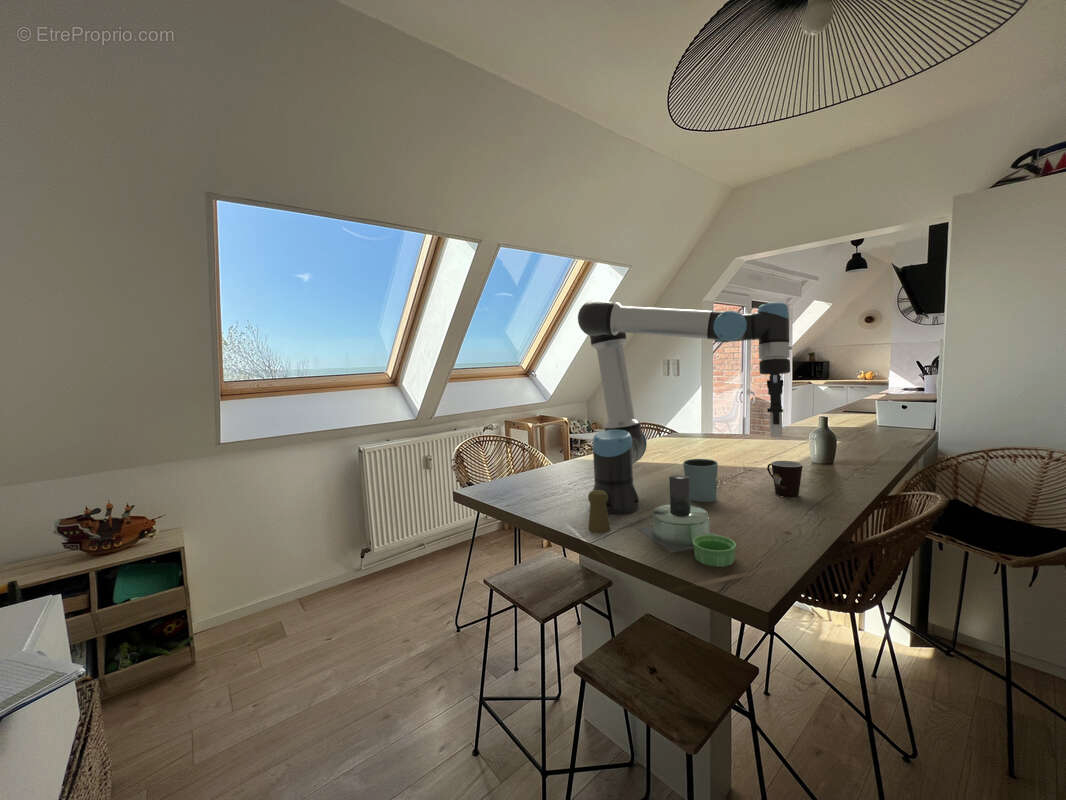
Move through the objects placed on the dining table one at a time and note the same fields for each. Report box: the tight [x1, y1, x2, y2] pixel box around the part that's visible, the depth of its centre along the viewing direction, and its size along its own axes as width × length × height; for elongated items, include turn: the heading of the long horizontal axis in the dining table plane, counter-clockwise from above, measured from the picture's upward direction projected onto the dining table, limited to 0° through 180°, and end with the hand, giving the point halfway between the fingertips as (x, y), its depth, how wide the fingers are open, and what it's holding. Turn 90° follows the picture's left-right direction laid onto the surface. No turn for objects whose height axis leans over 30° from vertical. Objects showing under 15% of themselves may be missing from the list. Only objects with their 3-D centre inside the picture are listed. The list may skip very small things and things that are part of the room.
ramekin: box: [692, 534, 737, 568], centre depth 100 cm, size 9×9×4 cm
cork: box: [587, 489, 611, 534], centre depth 120 cm, size 6×6×11 cm
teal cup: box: [682, 458, 719, 503], centre depth 141 cm, size 10×10×12 cm
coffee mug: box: [766, 460, 804, 498], centre depth 143 cm, size 12×9×10 cm
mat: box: [636, 525, 717, 554], centre depth 114 cm, size 16×16×1 cm
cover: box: [652, 474, 710, 546], centre depth 113 cm, size 13×13×15 cm
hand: (776, 436), depth 124 cm, fingers open, 13 cm apart
